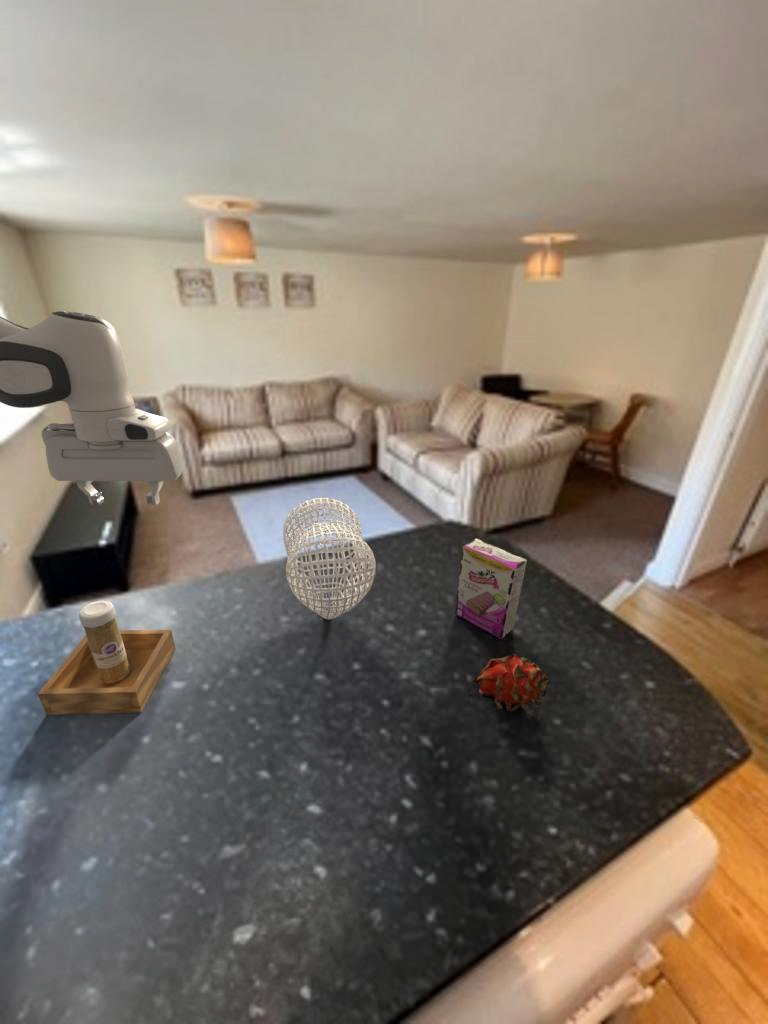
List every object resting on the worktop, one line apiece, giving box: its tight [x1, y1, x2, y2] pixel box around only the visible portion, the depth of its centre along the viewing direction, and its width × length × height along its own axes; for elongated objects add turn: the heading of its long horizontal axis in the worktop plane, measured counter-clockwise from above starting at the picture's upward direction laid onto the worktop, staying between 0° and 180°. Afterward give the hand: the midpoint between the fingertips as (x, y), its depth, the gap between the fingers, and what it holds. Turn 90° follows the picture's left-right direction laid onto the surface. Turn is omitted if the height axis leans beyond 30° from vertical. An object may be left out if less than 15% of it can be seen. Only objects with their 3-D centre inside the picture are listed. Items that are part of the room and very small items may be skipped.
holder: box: [37, 629, 176, 716], centre depth 73 cm, size 14×14×4 cm
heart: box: [282, 497, 377, 620], centre depth 86 cm, size 28×16×22 cm, turn 14°
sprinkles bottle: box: [78, 600, 130, 684], centre depth 71 cm, size 5×5×13 cm
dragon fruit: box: [471, 653, 550, 712], centre depth 71 cm, size 8×8×12 cm
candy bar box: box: [454, 538, 528, 638], centre depth 86 cm, size 11×5×16 cm, turn 46°
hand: (125, 503), depth 77 cm, fingers open, 8 cm apart
